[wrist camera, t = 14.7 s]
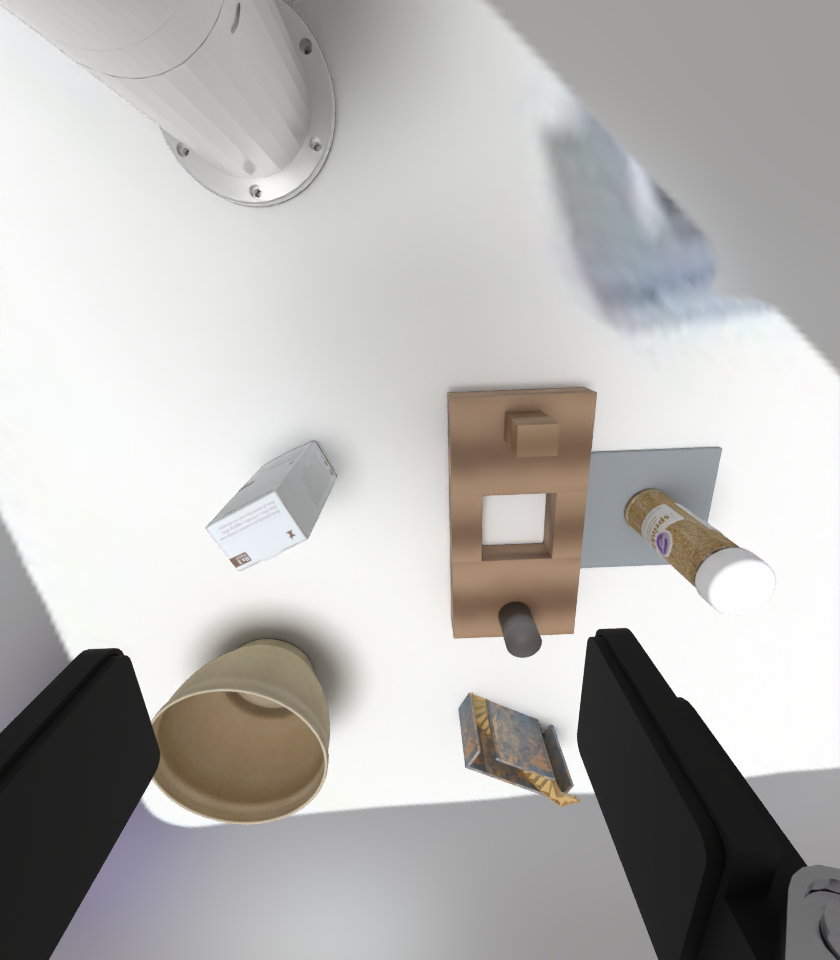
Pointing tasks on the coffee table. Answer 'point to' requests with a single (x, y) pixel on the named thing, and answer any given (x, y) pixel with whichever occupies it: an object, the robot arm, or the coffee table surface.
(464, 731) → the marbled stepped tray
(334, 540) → the coffee table surface
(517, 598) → the wooden peg board
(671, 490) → the pad
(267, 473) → the skincare box
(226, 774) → the planter bowl
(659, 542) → the sprinkles bottle
